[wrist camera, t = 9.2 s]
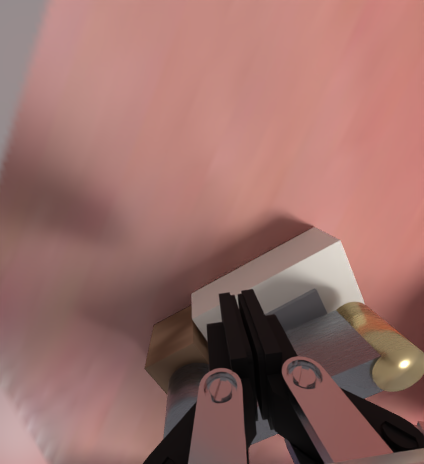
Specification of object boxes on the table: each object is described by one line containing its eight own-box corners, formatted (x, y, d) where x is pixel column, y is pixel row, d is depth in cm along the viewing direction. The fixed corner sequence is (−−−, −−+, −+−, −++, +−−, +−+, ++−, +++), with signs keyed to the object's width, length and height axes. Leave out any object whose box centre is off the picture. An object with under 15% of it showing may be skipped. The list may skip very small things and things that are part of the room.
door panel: (314, 226, 20) (342, 241, 16) (362, 340, 24) (393, 372, 20) (191, 293, 20) (192, 322, 17) (258, 392, 25) (270, 432, 21)
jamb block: (192, 304, 21) (193, 343, 16) (223, 349, 23) (232, 395, 18) (153, 325, 21) (144, 368, 17) (187, 368, 23) (187, 417, 18)
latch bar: (183, 412, 18) (181, 486, 14) (158, 376, 16) (148, 445, 12) (374, 332, 17) (431, 384, 13) (364, 289, 16) (423, 332, 12)
